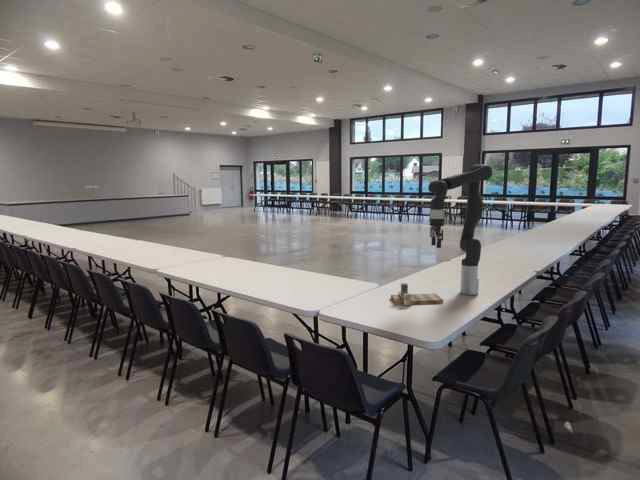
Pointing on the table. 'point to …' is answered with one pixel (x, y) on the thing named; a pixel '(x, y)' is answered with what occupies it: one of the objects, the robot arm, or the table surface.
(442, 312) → the table surface
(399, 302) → the board
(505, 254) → the table surface
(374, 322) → the table surface
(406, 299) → the cream flanged bar
